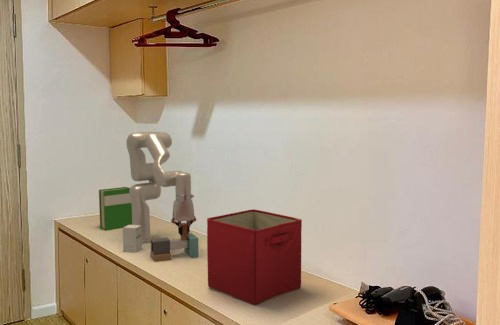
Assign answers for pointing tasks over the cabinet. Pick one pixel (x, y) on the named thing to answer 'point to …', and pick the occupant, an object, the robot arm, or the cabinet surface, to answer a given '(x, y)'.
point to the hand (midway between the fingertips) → (184, 234)
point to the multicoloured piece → (183, 241)
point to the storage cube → (254, 254)
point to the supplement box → (132, 238)
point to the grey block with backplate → (160, 249)
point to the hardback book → (115, 208)
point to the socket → (192, 246)
